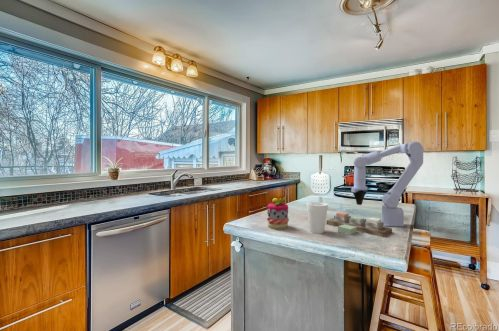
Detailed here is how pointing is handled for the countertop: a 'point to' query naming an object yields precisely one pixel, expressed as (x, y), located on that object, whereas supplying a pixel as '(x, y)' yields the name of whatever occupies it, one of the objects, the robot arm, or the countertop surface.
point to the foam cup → (317, 216)
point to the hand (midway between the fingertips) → (359, 204)
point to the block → (347, 229)
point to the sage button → (357, 218)
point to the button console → (361, 225)
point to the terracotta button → (342, 214)
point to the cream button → (374, 220)
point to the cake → (278, 214)
